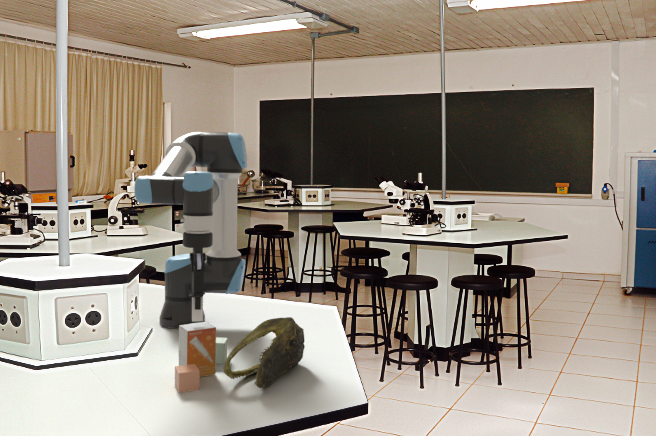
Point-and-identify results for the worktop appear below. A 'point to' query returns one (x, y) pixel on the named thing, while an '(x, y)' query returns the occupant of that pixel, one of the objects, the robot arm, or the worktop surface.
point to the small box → (198, 347)
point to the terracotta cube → (186, 378)
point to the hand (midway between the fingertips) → (197, 320)
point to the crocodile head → (272, 351)
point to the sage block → (221, 350)
